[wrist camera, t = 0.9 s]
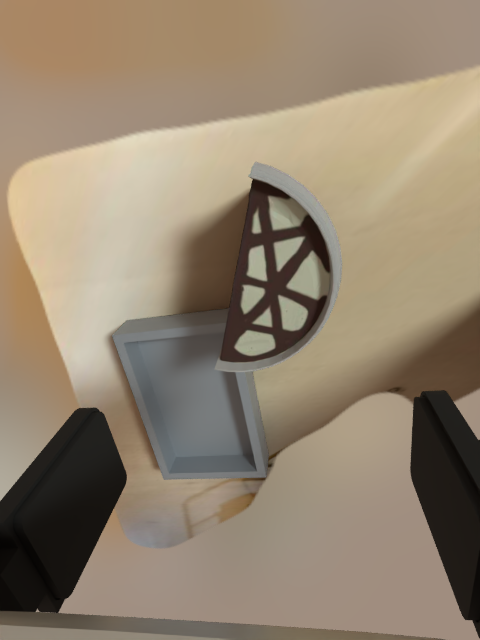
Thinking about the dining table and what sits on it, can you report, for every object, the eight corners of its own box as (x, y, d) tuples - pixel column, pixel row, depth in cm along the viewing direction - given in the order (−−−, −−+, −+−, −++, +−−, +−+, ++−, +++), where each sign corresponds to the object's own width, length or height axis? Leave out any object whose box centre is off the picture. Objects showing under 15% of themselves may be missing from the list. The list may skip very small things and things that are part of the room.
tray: (239, 307, 31) (234, 321, 28) (268, 453, 38) (266, 477, 35) (126, 320, 33) (111, 335, 30) (172, 457, 40) (163, 479, 37)
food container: (306, 328, 31) (310, 399, 22) (236, 312, 31) (212, 377, 22) (351, 176, 26) (381, 189, 17) (266, 158, 26) (250, 162, 17)
